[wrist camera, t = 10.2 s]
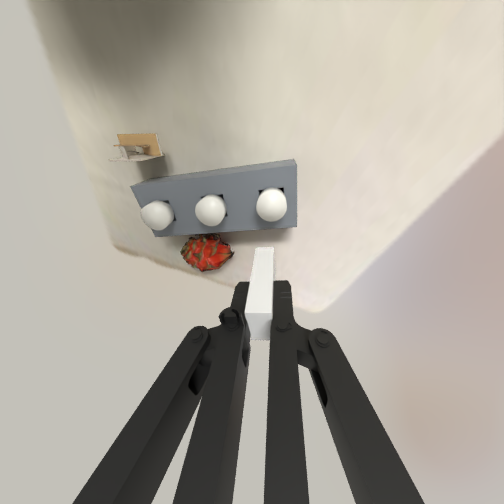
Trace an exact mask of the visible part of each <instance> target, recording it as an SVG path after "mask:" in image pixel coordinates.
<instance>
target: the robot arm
mask: <svg viewBox="0 0 504 504" xmlns="http://www.w3.org/2000/svg"><path fill="white" fill-rule="evenodd" d="M219 319H220V322H221V325H219V326H217V327H214V328H210V329H207V328H206V327H204V326H197V327H194V328H193V329H191V330H190V331H189V332H188V333H187V335H186V337H185V338H184V340H183V341H182V342H181V344H180V345H179V347H178V348H177V350H176V351H175V353H174V354H173V356H172V357H171V359H170V360H169V362H168V363H167V365H166V366H165V367H164V369H163V371H162V372H161V373H160V375H159V376H158V378H157V379H156V381H155V382H154V384H153V385H152V387H151V388H150V390H149V391H148V393H147V394H146V396H145V397H144V399H143V400H142V401H141V403H140V405H139V406H138V408H137V409H136V410H135V412H134V413H133V415H132V416H131V418H130V419H129V421H128V422H127V424H126V425H125V427H124V428H123V430H122V431H121V433H120V434H119V436H118V437H117V438H116V440H115V441H114V443H113V444H112V446H111V447H110V449H109V450H108V452H107V453H106V455H105V456H104V458H103V459H102V461H101V462H100V464H99V465H98V467H97V468H96V470H95V471H94V473H93V474H92V475H91V477H90V478H89V480H88V482H87V483H86V484H85V486H84V487H83V489H82V490H81V492H80V493H79V495H78V496H77V498H76V499H75V501H74V502H73V504H151V503H152V501H153V499H154V497H155V495H156V493H157V490H158V488H159V486H160V484H161V482H162V480H163V478H164V476H165V474H166V471H167V469H168V467H169V465H170V463H171V461H172V459H173V456H174V454H175V452H176V450H177V448H178V446H179V444H180V442H181V440H182V438H183V435H184V433H185V431H186V429H187V427H188V425H189V423H190V421H191V419H192V416H193V414H194V412H195V410H196V408H197V406H198V404H199V402H200V399H201V397H202V399H201V403H200V407H199V410H198V414H197V417H196V421H195V425H194V428H193V432H192V435H191V439H190V442H189V446H188V450H187V453H186V457H185V460H184V464H183V468H182V471H181V475H180V479H179V482H178V486H177V489H176V494H175V497H174V500H173V504H232V501H233V492H234V484H235V475H236V467H237V459H238V450H239V442H240V433H241V424H242V417H243V408H244V399H245V391H246V383H247V374H248V366H249V358H250V343H249V342H250V336H251V340H270V355H269V380H268V382H269V383H268V406H267V433H266V459H265V485H264V487H265V488H264V504H309V494H308V482H307V469H306V457H305V446H304V434H303V422H302V409H301V399H300V398H301V397H300V386H299V373H298V364H299V365H302V366H304V367H306V368H308V369H309V371H310V374H311V377H312V380H313V383H314V385H315V388H316V391H317V394H318V397H319V400H320V403H321V405H322V408H323V411H324V414H325V417H326V420H327V423H328V426H329V428H330V431H331V434H332V437H333V440H334V443H335V445H336V448H337V451H338V454H339V457H340V460H341V463H342V466H343V468H344V471H345V474H346V477H347V480H348V483H349V485H350V488H351V491H352V494H353V497H354V499H355V502H356V504H424V502H423V500H422V498H421V496H420V494H419V492H418V490H417V489H416V487H415V485H414V483H413V481H412V479H411V477H410V476H409V474H408V472H407V470H406V468H405V466H404V464H403V462H402V461H401V459H400V457H399V455H398V453H397V451H396V449H395V448H394V446H393V444H392V442H391V440H390V438H389V436H388V435H387V433H386V431H385V429H384V427H383V425H382V423H381V422H380V420H379V418H378V416H377V414H376V412H375V410H374V409H373V407H372V405H371V403H370V401H369V399H368V397H367V395H366V394H365V392H364V390H363V388H362V386H361V384H360V383H359V381H358V379H357V377H356V375H355V373H354V371H353V370H352V368H351V366H350V364H349V362H348V360H347V358H346V356H345V355H344V353H343V351H342V349H341V347H340V345H339V343H338V342H337V340H336V338H335V337H334V335H333V334H332V333H331V332H330V331H328V330H326V329H322V328H317V329H314V330H312V331H311V330H308V329H305V328H303V327H301V326H299V325H298V324H297V323H296V322H295V320H294V316H293V305H292V293H291V285H290V284H289V282H288V281H287V280H285V281H276V268H275V256H274V247H259V248H256V251H255V256H254V262H253V268H252V273H251V279H250V282H239V283H238V284H237V286H236V287H235V291H234V295H233V299H232V303H231V306H230V307H228V308H226V309H224V310H223V311H222V312H221V313H220V315H219Z"/></svg>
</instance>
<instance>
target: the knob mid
mask: <svg viewBox="0 0 504 504" xmlns="http://www.w3.org/2000/svg"><path fill="white" fill-rule="evenodd" d="M226 212H227V207H226V204H225V202H224V198H223V194H220V195H214V194H209V195H206V196H205V197H204V198H202V199H201V200H200V201H199V202H198V203H197V205H196V207H195V213H196V216H197V218H198V219H199V221H200V222H202V223H203V224H205V225H207V226H216V225H218V224H219V223H220V222H221V221H222V220H223V218H224V216H225V215H226Z"/></svg>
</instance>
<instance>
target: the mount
mask: <svg viewBox="0 0 504 504" xmlns="http://www.w3.org/2000/svg"><path fill="white" fill-rule="evenodd" d="M130 187H131V189H132V191H133V193H134V195H135V197H136V199H137V201H138V203H139V205H140V207H141V209H142V208H143V207H144V206H146V205H148V204H149V203H151V202H153V201H156V200H160V201H165V200H169V203H170V205H171V208H172V210H173V212H174V220H173V221H172V222H171V223H170V224H169V225H168V226H167V227H166V228H165V229H163V230H154V229H152V228H151V229H152V231H153V233H154V235H155V237H163V236H176V235H190V234H204V233H218V232H232V231H246V230H260V229H274V228H288V227H297V164H296V162H295V160H294V159H291V160H283V161H276V162H269V163H261V164H254V165H247V166H240V167H232V168H225V169H218V170H210V171H203V172H196V173H188V174H181V175H174V176H166V177H159V178H152V179H148V180H146V181H143V182H141V183H138V184H136V185H133V186H130ZM272 187H273V188H283V193H284V194H285V197H286V203H287V210H286V213H285V214H284V216H283V217H282V218H281V219H279V220H277V221H273V222H270V221H266V220H264V219H262V218H261V217H260V216H259V215H258V213H257V210H256V205H257V201H258V197H259V195H260V193H261V192H262V190H265V189H267V188H272ZM209 194H214V195H220V194H223V198H224V202H225V204H226V207H227V212H226V215H225V216H224V218H223V220H222V221H221V222H220V223H219V224H218V225H216V226H207V225H205V224H203V223H202V222H200V221H199V219H198V218H197V216H196V213H195V207H196V205H197V203H198V202H199V201H200V200H201V199H202V198H204V197H205V196H206V195H209Z"/></svg>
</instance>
